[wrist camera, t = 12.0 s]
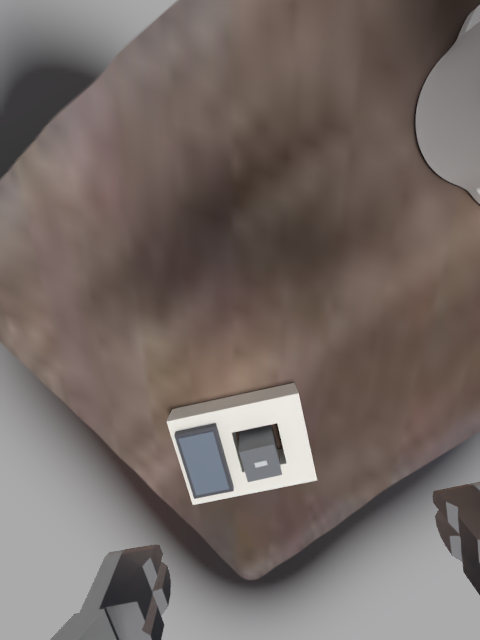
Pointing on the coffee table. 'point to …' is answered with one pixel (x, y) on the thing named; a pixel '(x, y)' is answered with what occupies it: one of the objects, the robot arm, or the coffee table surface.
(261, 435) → the rocker switch
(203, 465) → the switch plate
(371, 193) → the coffee table surface
